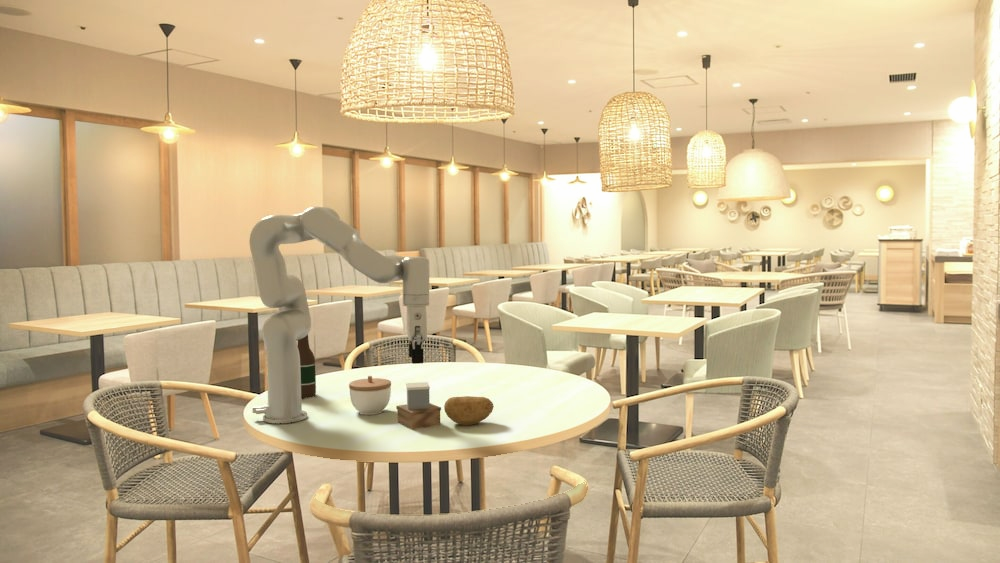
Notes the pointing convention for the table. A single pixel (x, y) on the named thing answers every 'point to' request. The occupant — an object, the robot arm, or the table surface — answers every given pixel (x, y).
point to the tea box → (418, 416)
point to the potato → (468, 409)
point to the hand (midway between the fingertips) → (415, 360)
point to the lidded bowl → (370, 395)
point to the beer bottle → (307, 368)
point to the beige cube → (418, 395)
